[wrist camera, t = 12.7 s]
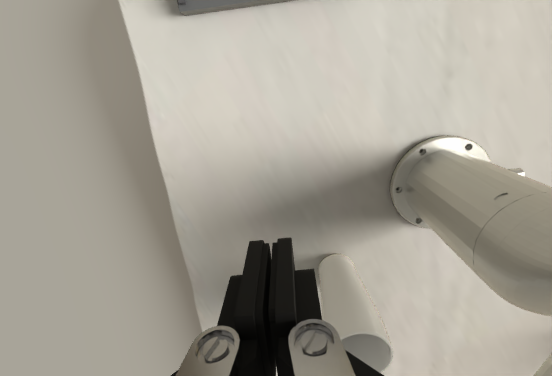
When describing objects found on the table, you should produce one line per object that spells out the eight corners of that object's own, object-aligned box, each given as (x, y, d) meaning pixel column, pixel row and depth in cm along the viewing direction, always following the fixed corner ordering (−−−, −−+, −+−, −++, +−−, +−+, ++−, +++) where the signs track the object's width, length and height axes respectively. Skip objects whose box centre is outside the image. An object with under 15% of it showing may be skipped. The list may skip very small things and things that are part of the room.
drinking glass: (320, 290, 45) (337, 386, 31) (307, 255, 43) (318, 341, 29) (363, 279, 44) (401, 372, 30) (351, 242, 42) (386, 324, 28)
